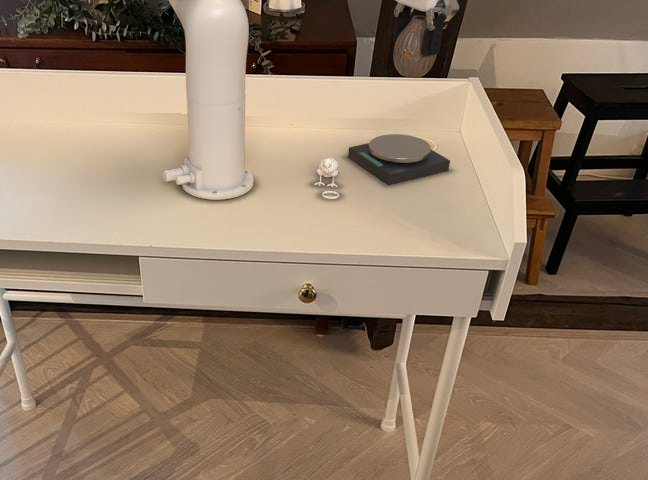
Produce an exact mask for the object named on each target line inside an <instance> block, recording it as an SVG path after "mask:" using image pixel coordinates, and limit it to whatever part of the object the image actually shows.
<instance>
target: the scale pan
mask: <svg viewBox="0 0 648 480" xmlns="http://www.w3.org/2000/svg"><path fill="white" fill-rule="evenodd" d="M368 143H369V147H368V148H369V151H370V153H371V154H372V155H374V156H375V157H377V158H380V159H382V160H386V161H390V162H398V163H411V162H417V161H421V160H424V159H426V158H427V157H428V156H429V155H430V152H431V150H432V146H431V145H430V143H429V142H427V141H426V140H424V139H422V138H419V137H417V136H413V135H409V134H399V133H393V134H390V133H389V134H382V135H379V136H376V137H374V138H372V139H370V141H369V142H368Z"/></svg>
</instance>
